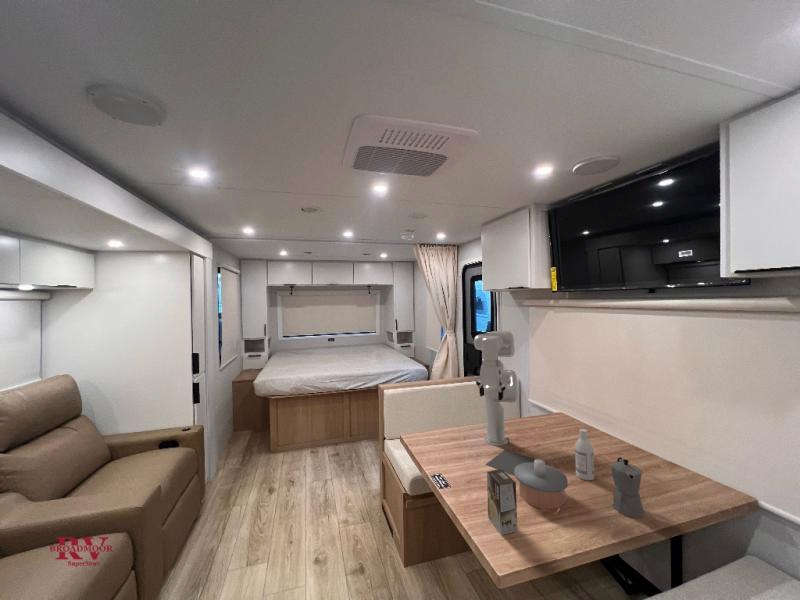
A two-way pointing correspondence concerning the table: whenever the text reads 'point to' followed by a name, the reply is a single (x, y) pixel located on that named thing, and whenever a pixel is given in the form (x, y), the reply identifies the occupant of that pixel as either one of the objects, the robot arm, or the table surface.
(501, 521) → the coffee box
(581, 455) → the bath foam
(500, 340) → the robot arm
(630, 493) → the coffeepot
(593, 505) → the table surface
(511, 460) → the mat
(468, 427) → the table surface
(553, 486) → the lid
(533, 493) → the bowl
